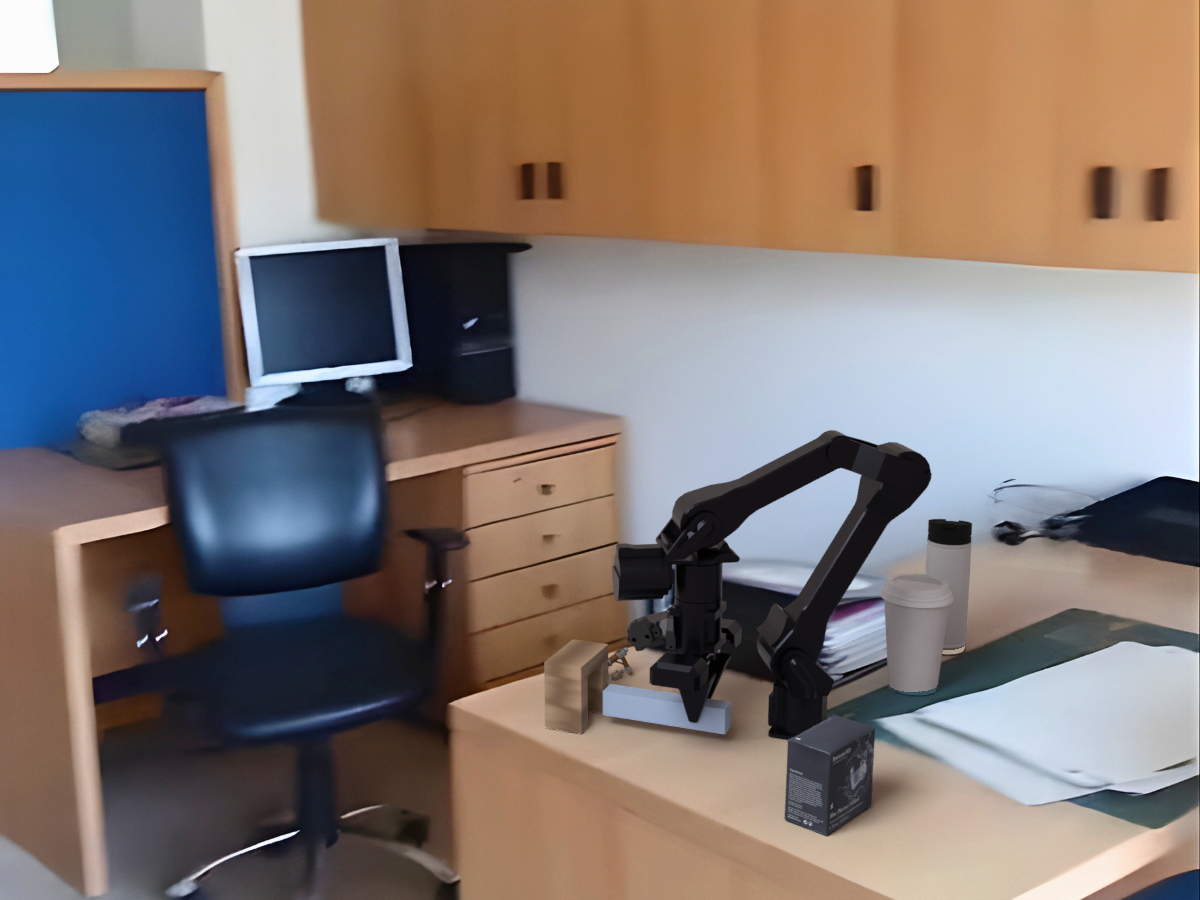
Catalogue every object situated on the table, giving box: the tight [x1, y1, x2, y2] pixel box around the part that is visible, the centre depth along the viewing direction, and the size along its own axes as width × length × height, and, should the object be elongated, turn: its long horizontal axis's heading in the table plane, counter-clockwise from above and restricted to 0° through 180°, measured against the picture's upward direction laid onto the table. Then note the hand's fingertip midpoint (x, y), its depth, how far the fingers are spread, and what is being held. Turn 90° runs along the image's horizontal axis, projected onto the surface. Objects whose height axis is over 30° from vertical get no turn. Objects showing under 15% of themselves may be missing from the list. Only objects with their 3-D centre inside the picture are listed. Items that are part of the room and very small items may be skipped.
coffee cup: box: [880, 573, 954, 692], centre depth 169 cm, size 10×10×15 cm
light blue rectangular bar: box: [602, 683, 732, 735], centre depth 155 cm, size 16×3×3 cm, turn 68°
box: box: [783, 714, 876, 836], centre depth 134 cm, size 9×6×10 cm, turn 138°
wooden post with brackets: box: [608, 647, 634, 682], centre depth 173 cm, size 2×8×4 cm, turn 115°
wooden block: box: [543, 639, 609, 735], centre depth 159 cm, size 5×9×9 cm, turn 158°
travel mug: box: [925, 518, 973, 650], centre depth 183 cm, size 6×7×20 cm
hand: (696, 717), depth 154 cm, fingers closed on light blue rectangular bar, 3 cm apart
